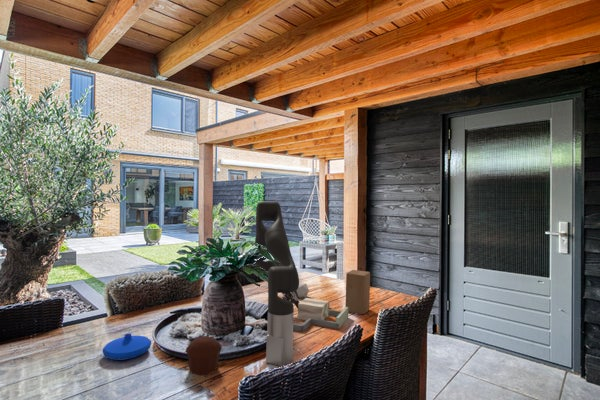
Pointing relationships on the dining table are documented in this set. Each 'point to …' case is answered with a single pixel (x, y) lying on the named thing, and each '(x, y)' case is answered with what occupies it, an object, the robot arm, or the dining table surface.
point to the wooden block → (357, 291)
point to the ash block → (312, 309)
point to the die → (302, 290)
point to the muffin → (203, 355)
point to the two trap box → (336, 325)
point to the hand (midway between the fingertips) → (300, 307)
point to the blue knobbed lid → (126, 347)
